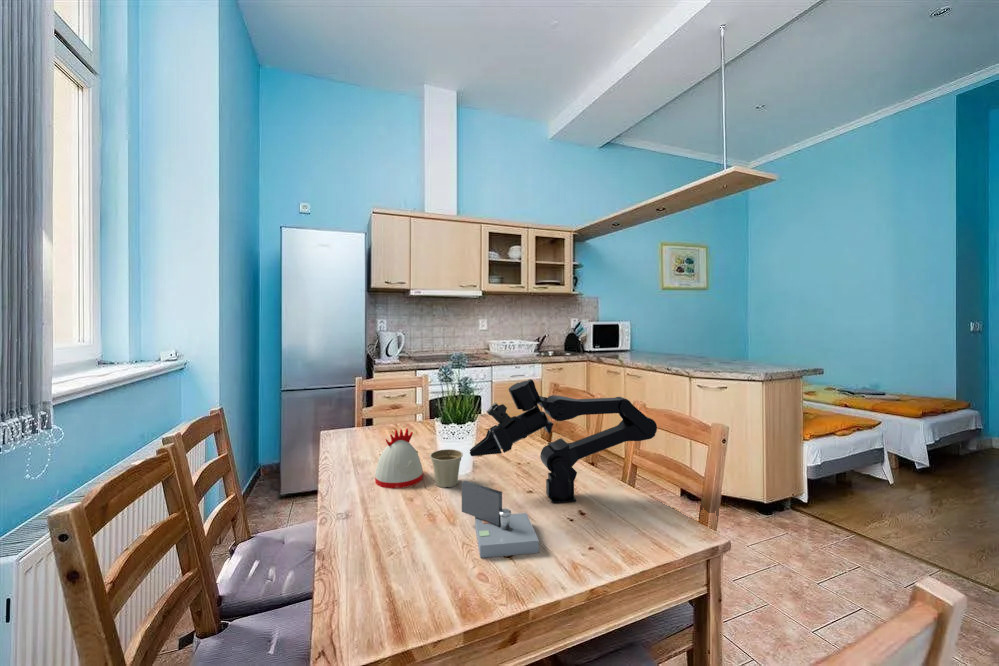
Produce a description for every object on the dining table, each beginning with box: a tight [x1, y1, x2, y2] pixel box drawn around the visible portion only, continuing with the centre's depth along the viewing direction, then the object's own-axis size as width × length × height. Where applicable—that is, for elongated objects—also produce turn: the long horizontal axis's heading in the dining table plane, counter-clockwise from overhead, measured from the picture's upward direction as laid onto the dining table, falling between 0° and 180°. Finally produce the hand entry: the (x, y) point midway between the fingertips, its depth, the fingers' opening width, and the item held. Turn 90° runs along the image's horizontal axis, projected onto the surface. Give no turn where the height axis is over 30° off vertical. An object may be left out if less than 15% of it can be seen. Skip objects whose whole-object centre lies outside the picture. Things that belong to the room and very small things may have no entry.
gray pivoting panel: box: [461, 480, 512, 529], centre depth 91 cm, size 13×3×7 cm, turn 53°
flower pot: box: [429, 448, 464, 488], centre depth 117 cm, size 9×9×9 cm
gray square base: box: [474, 512, 540, 559], centre depth 87 cm, size 12×12×3 cm
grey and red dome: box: [374, 428, 424, 489], centre depth 121 cm, size 14×14×15 cm
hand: (470, 453), depth 103 cm, fingers open, 9 cm apart
